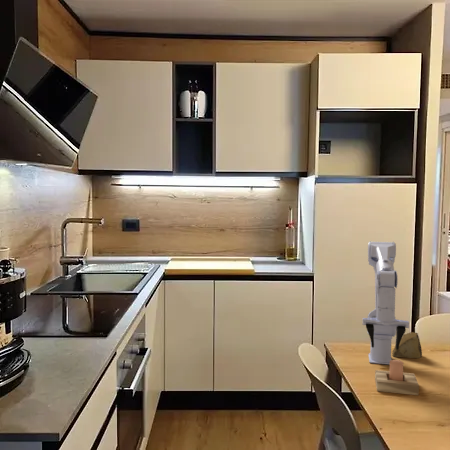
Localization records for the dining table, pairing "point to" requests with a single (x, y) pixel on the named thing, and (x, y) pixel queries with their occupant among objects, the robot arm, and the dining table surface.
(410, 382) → the socket block
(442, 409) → the dining table surface
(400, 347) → the rock
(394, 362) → the peg
